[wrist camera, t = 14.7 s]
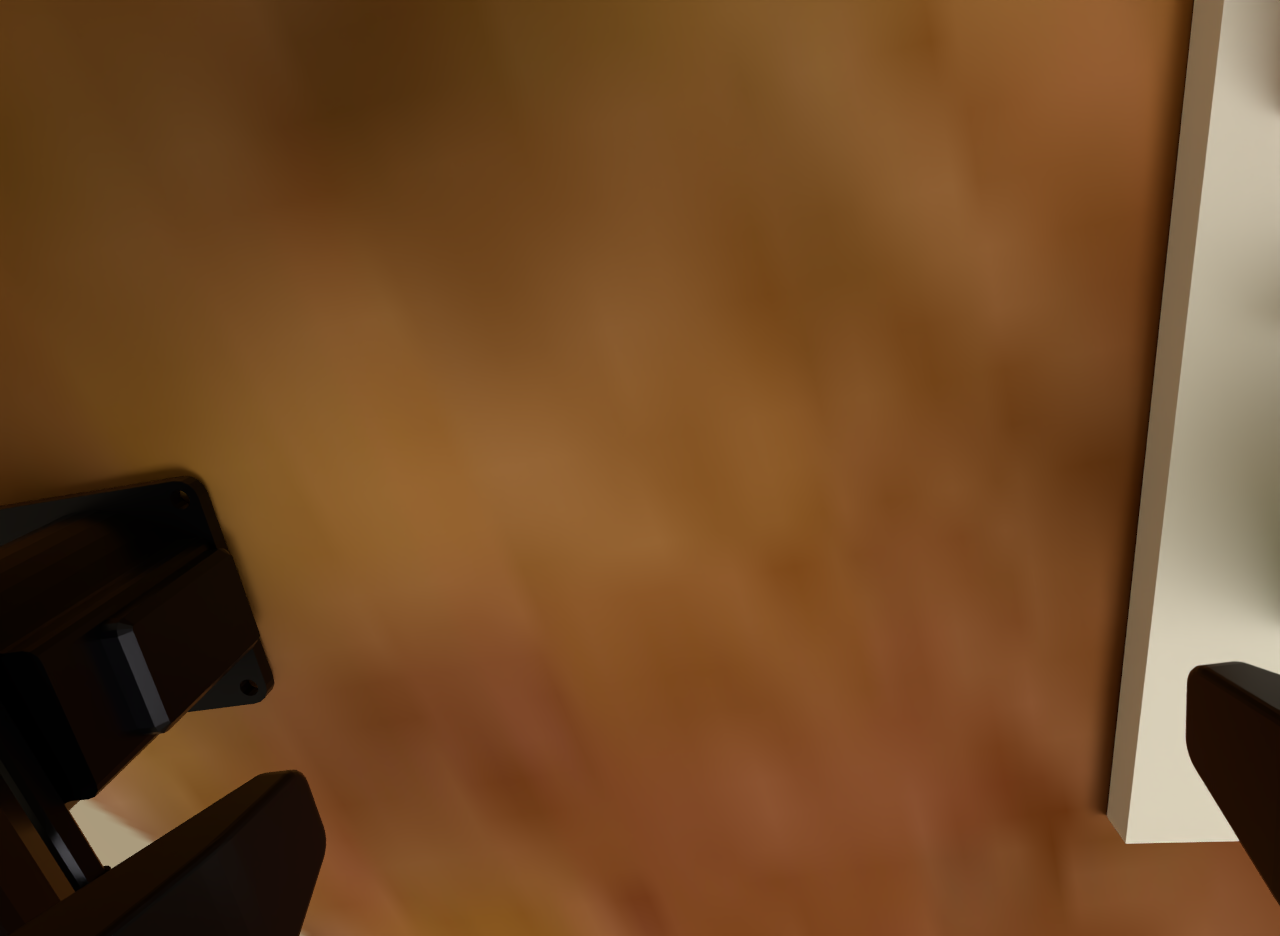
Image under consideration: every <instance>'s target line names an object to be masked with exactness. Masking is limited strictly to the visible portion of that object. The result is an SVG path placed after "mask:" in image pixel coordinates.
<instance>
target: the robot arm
mask: <svg viewBox="0 0 1280 936" xmlns="http://www.w3.org/2000/svg"><path fill="white" fill-rule="evenodd" d="M180 491H183V492H185V493H186V494H187V495H188V497H189V499H190V504H189V503H186V502H185V501H183V500H182V498H181V497H180ZM259 637H260V634H259V631H258V628H257V625H256V622H255V620H254V617H253V614H252V611H251V608H250V605H249V603H248V600H247V597H246V594H245V591H244V588H243V586H242V583H241V580H240V577H239V574H238V572H237V569H236V566H235V563H234V560H233V557H232V556H231V554H230V553H229V551H228V548H227V546H226V543H225V540H224V537H223V534H222V531H221V529H220V526H219V523H218V520H217V517H216V515H215V512H214V509H213V506H212V503H211V500H210V498H209V495H208V492H207V490H206V488H205V487H204V485H203V484H202V483H201V482H200V481H199V480H197V479H195V478H192V477H189V476H182V477H175V478H169V479H163V480H157V481H151V482H145V483H139V484H132V485H126V486H120V487H114V488H108V489H102V490H96V491H90V492H83V493H77V494H71V495H65V496H59V497H53V498H47V499H41V500H34V501H28V502H22V503H16V504H10V505H4V506H0V936H299V935H300V932H301V928H302V925H303V922H304V919H305V916H306V913H307V909H308V906H309V903H310V900H311V897H312V894H313V890H314V887H315V884H316V881H317V878H318V875H319V871H320V868H321V865H322V862H323V859H324V855H325V849H326V835H325V830H324V826H323V824H322V821H321V818H320V815H319V812H318V810H317V807H316V804H315V801H314V798H313V795H312V793H311V790H310V787H309V784H308V782H307V779H306V777H305V776H304V775H303V774H302V773H301V772H299V771H297V770H286V771H277V772H269V773H263V774H260V775H258V776H256V777H254V778H253V779H251V780H250V781H248V782H247V783H245V784H244V785H242V786H240V787H239V788H237V789H236V790H234V791H233V792H231V793H229V794H228V795H226V796H225V797H223V798H222V799H220V800H218V801H217V802H215V803H214V804H212V805H211V806H209V807H207V808H206V809H204V810H203V811H201V812H200V813H198V814H197V815H195V816H193V817H192V818H190V819H189V820H187V821H186V822H184V823H182V824H181V825H179V826H178V827H176V828H175V829H173V830H171V831H170V832H168V833H167V834H165V835H164V836H162V837H161V838H159V839H157V840H156V841H154V842H153V843H151V844H150V845H148V846H146V847H145V848H143V849H142V850H140V851H139V852H137V853H135V854H134V855H132V856H131V857H129V858H128V859H126V860H125V861H123V862H121V863H120V864H118V865H117V866H115V867H114V868H112V869H111V867H109V866H103V865H102V864H101V862H100V860H99V859H98V857H97V856H96V854H95V852H94V851H93V849H92V847H91V846H90V845H89V842H88V841H87V839H86V838H85V836H84V834H83V833H82V831H81V829H80V828H79V826H78V824H77V823H76V821H75V820H74V818H73V817H72V815H71V813H70V811H69V810H70V809H71V808H72V807H73V806H74V805H75V804H77V802H79V801H80V800H85V799H90V798H93V797H95V796H96V795H97V794H98V793H99V792H100V791H101V790H102V789H103V788H104V787H105V786H106V785H107V784H108V783H110V782H111V781H112V780H113V779H114V778H115V777H116V776H117V775H118V774H119V773H120V772H121V771H122V770H123V769H124V768H125V767H126V766H127V765H128V764H129V763H130V762H131V761H132V760H133V759H134V758H135V757H136V756H137V755H138V754H139V753H140V752H141V751H142V750H143V749H144V748H145V747H146V746H147V745H148V744H150V743H151V742H152V741H153V740H154V739H155V738H156V737H157V736H158V735H159V734H160V733H165V732H167V731H168V730H169V729H170V728H171V727H173V726H174V725H175V724H176V723H177V722H178V721H179V720H180V719H181V718H182V717H183V716H184V715H185V714H186V713H187V712H192V711H200V710H208V709H215V708H223V707H231V706H239V705H247V704H255V703H258V702H261V701H262V700H263V699H264V698H265V697H266V696H267V695H268V693H269V692H270V691H271V690H272V689H273V686H274V679H273V675H272V672H271V669H270V667H269V664H268V661H267V658H266V655H265V653H264V650H263V647H262V644H261V641H260V638H259ZM248 680H252V681H253V682H255V683H256V685H257V686H258V688H257V687H254V686H252V685H250V683H249V682H248ZM1186 746H1187V750H1188V754H1189V757H1190V759H1191V762H1192V764H1193V766H1194V768H1195V769H1196V771H1197V773H1198V774H1199V776H1200V778H1201V779H1202V781H1203V782H1204V784H1205V786H1206V787H1207V789H1208V791H1209V792H1210V794H1211V795H1212V797H1213V799H1214V800H1215V802H1216V804H1217V805H1218V807H1219V808H1220V810H1221V812H1222V813H1223V815H1224V817H1225V818H1226V820H1227V822H1228V823H1229V825H1230V826H1231V828H1232V830H1233V831H1234V833H1235V835H1236V836H1237V838H1238V839H1239V841H1240V843H1241V844H1242V846H1243V848H1244V849H1245V851H1246V852H1247V854H1248V856H1249V857H1250V859H1251V861H1252V862H1253V864H1254V865H1255V867H1256V869H1257V870H1258V872H1259V874H1260V875H1261V877H1262V878H1263V880H1264V882H1265V883H1266V885H1267V887H1268V888H1269V890H1270V892H1271V893H1272V895H1273V896H1274V898H1275V899H1276V901H1277V902H1278V904H1279V905H1280V674H1277V673H1274V672H1271V671H1268V670H1265V669H1262V668H1259V667H1256V666H1254V665H1251V664H1248V663H1244V662H1239V661H1231V662H1223V663H1215V664H1206V665H1198V666H1196V667H1194V668H1193V669H1192V670H1191V671H1190V672H1189V675H1188V678H1187V694H1186Z"/></svg>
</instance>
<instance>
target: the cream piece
mask: <svg viewBox="0 0 1280 936" xmlns="http://www.w3.org/2000/svg"><path fill="white" fill-rule="evenodd" d="M1231 661H1239V662H1244V663H1248V664H1251V665H1254V666H1256V667H1259V668H1262V669H1265V670H1268V671H1271V672H1274V673H1277V674H1280V0H1194V8H1193V17H1192V27H1191V36H1190V45H1189V55H1188V64H1187V73H1186V83H1185V92H1184V101H1183V111H1182V120H1181V129H1180V139H1179V148H1178V157H1177V167H1176V176H1175V185H1174V195H1173V204H1172V213H1171V223H1170V232H1169V241H1168V251H1167V260H1166V269H1165V279H1164V288H1163V297H1162V307H1161V316H1160V325H1159V335H1158V344H1157V353H1156V363H1155V372H1154V381H1153V391H1152V400H1151V409H1150V418H1149V428H1148V437H1147V446H1146V456H1145V465H1144V474H1143V484H1142V493H1141V502H1140V512H1139V521H1138V530H1137V540H1136V549H1135V558H1134V568H1133V577H1132V586H1131V596H1130V605H1129V614H1128V624H1127V633H1126V642H1125V652H1124V661H1123V670H1122V680H1121V689H1120V698H1119V708H1118V717H1117V726H1116V736H1115V745H1114V754H1113V764H1112V773H1111V782H1110V792H1109V801H1108V810H1107V817H1108V819H1109V820H1110V822H1111V823H1112V825H1113V826H1114V828H1115V829H1116V830H1117V832H1118V833H1119V835H1120V836H1121V838H1122V839H1123V841H1124V842H1125V843H1126V844H1127V843H1172V842H1218V841H1239V839H1238V838H1237V836H1236V835H1235V833H1234V831H1233V830H1232V828H1231V826H1230V825H1229V823H1228V822H1227V820H1226V818H1225V817H1224V815H1223V813H1222V812H1221V810H1220V808H1219V807H1218V805H1217V804H1216V802H1215V800H1214V799H1213V797H1212V795H1211V794H1210V792H1209V791H1208V789H1207V787H1206V786H1205V784H1204V782H1203V781H1202V779H1201V778H1200V776H1199V774H1198V773H1197V771H1196V769H1195V768H1194V766H1193V764H1192V762H1191V759H1190V757H1189V754H1188V750H1187V746H1186V694H1187V678H1188V675H1189V672H1190V671H1191V670H1192V669H1193V668H1194V667H1196V666H1198V665H1206V664H1215V663H1223V662H1231Z"/></svg>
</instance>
